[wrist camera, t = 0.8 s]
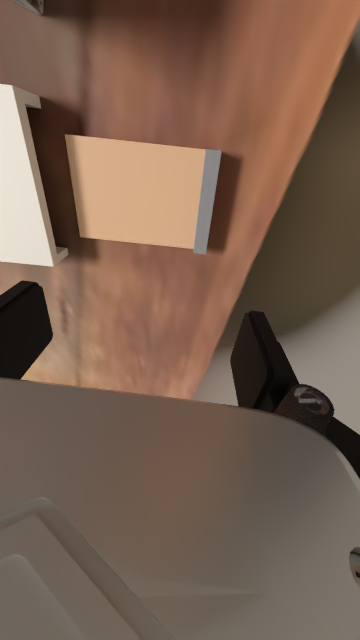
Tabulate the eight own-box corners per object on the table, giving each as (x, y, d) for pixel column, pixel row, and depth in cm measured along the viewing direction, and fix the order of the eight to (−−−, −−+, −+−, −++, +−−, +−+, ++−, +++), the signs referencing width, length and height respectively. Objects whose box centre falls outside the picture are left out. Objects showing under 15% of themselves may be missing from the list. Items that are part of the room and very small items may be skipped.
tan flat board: (69, 135, 27) (56, 132, 24) (218, 151, 27) (221, 150, 24) (83, 234, 33) (74, 241, 31) (204, 247, 33) (205, 254, 31)
